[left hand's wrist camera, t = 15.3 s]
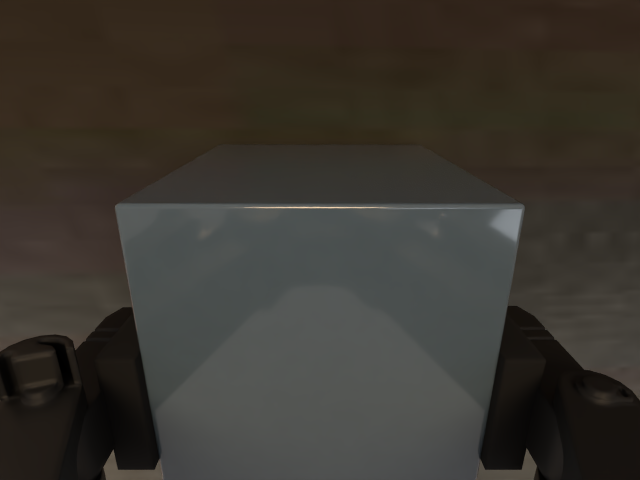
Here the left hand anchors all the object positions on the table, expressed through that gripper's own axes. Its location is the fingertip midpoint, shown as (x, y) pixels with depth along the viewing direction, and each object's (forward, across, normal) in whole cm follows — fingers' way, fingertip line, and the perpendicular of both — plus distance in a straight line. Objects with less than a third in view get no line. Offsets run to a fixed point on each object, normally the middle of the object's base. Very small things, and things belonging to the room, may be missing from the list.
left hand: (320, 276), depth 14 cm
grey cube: (+1, 0, 0) cm, 1 cm away
